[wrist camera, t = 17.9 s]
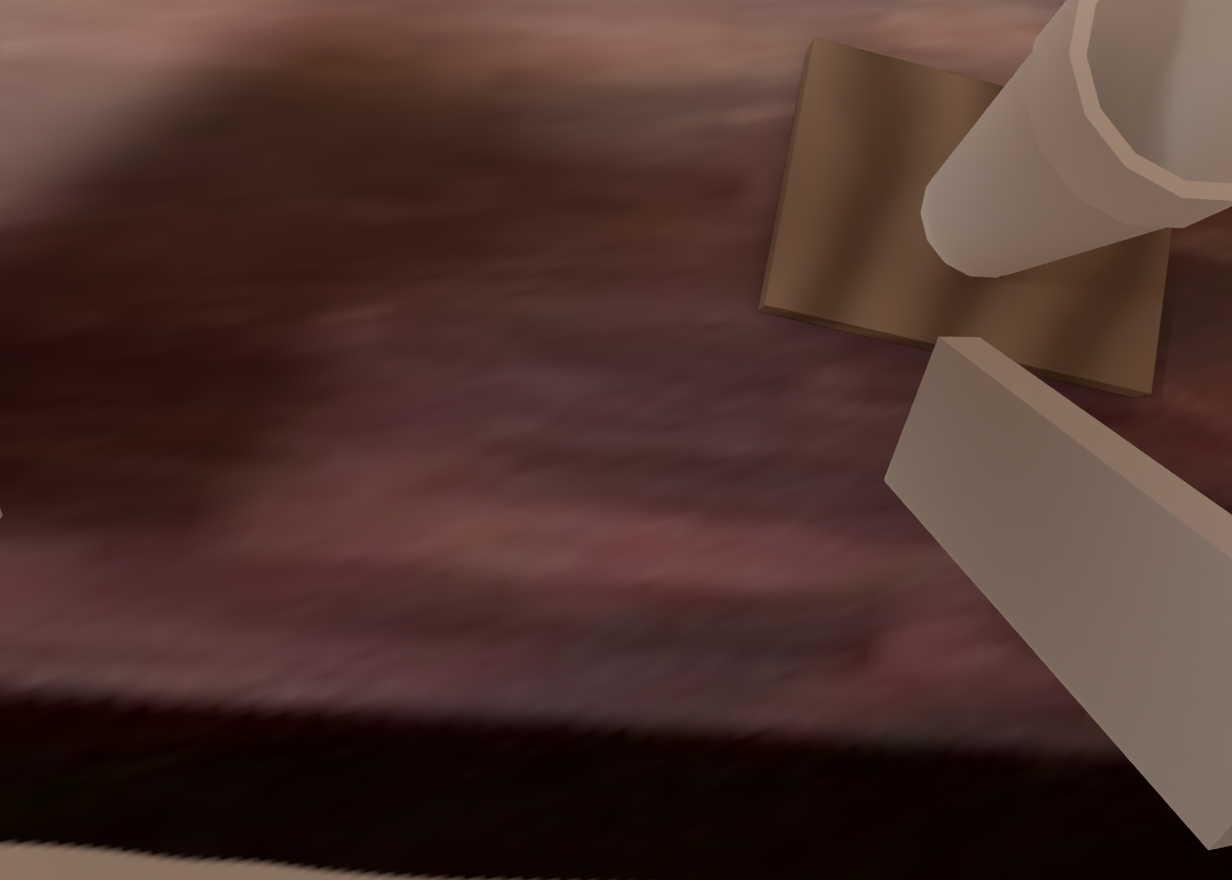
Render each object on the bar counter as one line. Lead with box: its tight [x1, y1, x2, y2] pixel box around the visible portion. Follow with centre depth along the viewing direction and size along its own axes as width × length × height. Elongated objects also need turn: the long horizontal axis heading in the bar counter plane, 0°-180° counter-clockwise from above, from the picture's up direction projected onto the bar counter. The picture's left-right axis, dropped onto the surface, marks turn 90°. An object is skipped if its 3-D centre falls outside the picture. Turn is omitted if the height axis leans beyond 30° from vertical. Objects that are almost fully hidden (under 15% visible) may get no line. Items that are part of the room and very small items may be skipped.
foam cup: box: [921, 0, 1232, 278], centre depth 32 cm, size 10×9×13 cm
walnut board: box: [758, 38, 1172, 397], centre depth 39 cm, size 20×14×1 cm
